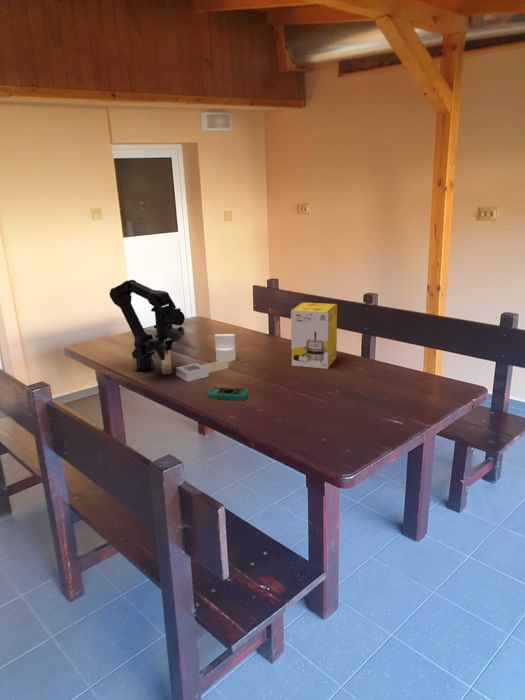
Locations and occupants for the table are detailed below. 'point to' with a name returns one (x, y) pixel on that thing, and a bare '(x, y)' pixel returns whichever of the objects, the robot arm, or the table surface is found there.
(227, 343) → the base with upright slab
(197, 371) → the square frame with handle
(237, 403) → the table surface
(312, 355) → the packaging box
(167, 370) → the brown mottled cylinder
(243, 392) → the digital multimeter
